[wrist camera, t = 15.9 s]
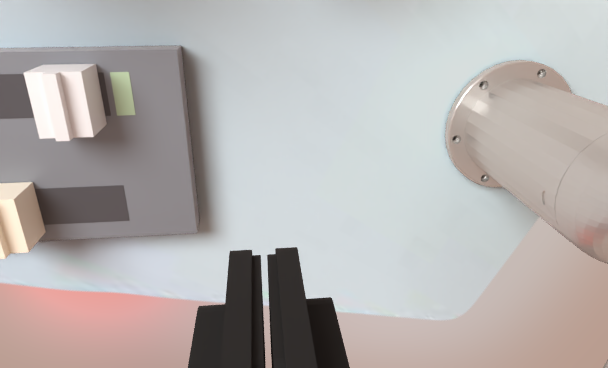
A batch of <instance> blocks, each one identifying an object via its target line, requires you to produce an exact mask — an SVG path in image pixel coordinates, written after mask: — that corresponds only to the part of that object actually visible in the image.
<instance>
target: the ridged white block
mask: <svg viewBox="0 0 608 368" xmlns="http://www.w3.org/2000/svg"><path fill="white" fill-rule="evenodd" d="M24 77H25V81H26V85H27V89H28V93H29V98H30V102H31V106H32V110H33V114H34V118H35V122H36V126H37V130H38V134H39V138H40V139H46V138H55V139H56V141H70V140H71V139H73V138H78V137H94V136H95V135H96V134H97V133H98V132H99V131H100V130H101V129H102V128H103V127H104V126H105V125H106V124H107V123H106V117H105V112H104V106H103V100H102V95H101V89H100V84H99V78H98V73H97V67H96V64H52V65H41V66H39V67H36V68H34V69H31V70H29V71H26V72H24Z"/></svg>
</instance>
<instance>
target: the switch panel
mask: <svg viewBox="0 0 608 368" xmlns="http://www.w3.org/2000/svg"><path fill="white" fill-rule="evenodd" d="M52 64H96V67H97V73H98V78H99V84H100V89H101V95H102V100H103V106H104V112H105V117H106V123H107V124H106V125H105V126H104V127H103V128H102V129H101V130H100V131H99V132H98V133H97V134H96V135H95V136H94V137H78V138H73V139H71V140H70V141H56V139H55V138H46V139H40V138H39V134H38V130H37V126H36V122H35V118H34V114H33V110H32V106H31V102H30V98H29V93H28V89H27V85H26V81H25V77H24V72H26V71H29V70H31V69H34V68H36V67H39V66H41V65H52ZM20 182H33V185H34V189H35V193H36V197H37V200H38V204H39V208H40V212H41V216H42V219H43V223H44V227H45V231H46V232H45V233H44V235H43V236H42V237H41V238H40V239H39V241H54V240H73V239H92V238H112V237H131V236H150V235H170V234H189V233H197V231H198V226H199V221H200V219H199V210H198V200H197V191H196V181H195V172H194V162H193V153H192V143H191V134H190V124H189V115H188V105H187V96H186V86H185V77H184V67H183V58H182V49H181V46H112V47H40V48H0V183H20Z"/></svg>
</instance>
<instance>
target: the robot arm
mask: <svg viewBox="0 0 608 368" xmlns="http://www.w3.org/2000/svg"><path fill="white" fill-rule="evenodd" d="M481 82H482V84H481V85H480V83H481ZM479 85H480V86H479ZM454 136H455V138H454V139H453V137H454ZM445 141H446V148H447V151H448V154H449V157H450V159H451V161H452V162H453V164H454V166H455V167H456V168H457V169H458V170H459V171H460V172H461V173H462V174H463V175H464V176H466V177H467V178H468V179H470V180H471V181H473V182H475V183H477V184H480V185H484V186H488V187H504V188H505V189H506V190H508V191H509V192H510V193H511V194H513V195H514V196H515V197H516V198H517V199H519V200H520V201H521V202H522V203H524V204H525V205H526V206H527V207H528V208H530V209H531V210H532V211H533V212H535V213H536V214H537V215H538V216H539V217H541V218H542V219H543V220H544V221H546V222H547V223H548V224H549V225H550V226H552V227H553V228H554V229H555V230H557V231H558V232H559V233H560V234H562V235H563V236H564V237H565V238H566V239H568V240H569V241H570V242H572V243H573V244H574V245H575V246H577V247H578V248H579V249H580V250H582V251H583V252H585V253H586V254H588V255H589V256H591V257H593V258H595V259H597V260H599V261H602V262H604V263H607V264H608V106H606V105H603V104H600V103H597V102H594V101H591V100H589V99H586V98H583V97H580V96H577V95H574V94H572V93H571V90H570V88H569V86H568V84H567V83H566V81H565V80H564V79H563V77H562V76H561V75H560V74H559V73H557V72H556V71H555V70H554V69H552V68H550V67H548V66H546V65H544V64H541V63H537V62H533V61H526V60H515V61H507V62H504V63H500V64H497V65H495V66H493V67H491V68H489V69H487V70H485V71H483V72H482V73H480V74H479V75H477V76H476V77H475V78H473V79H472V80H471V81H470V82H469V83H468V84H467V85H466V86H465V87H464V88H463V90H462V91H461V92H460V94H459V95H458V97H457V98H456V99H455V101H454V103H453V105H452V108H451V110H450V112H449V115H448V119H447V122H446V130H445ZM267 257H268V283H269V309H270V334H271V354H272V355H271V357H272V368H350V367H349V363H348V359H347V356H346V351H345V347H344V343H343V339H342V335H341V332H340V328H339V324H338V320H337V316H336V312H335V308H334V304H333V300H332V298H331V297H330V298H315V299H306V297H305V291H304V285H303V279H302V273H301V267H300V261H299V256H298V250H297V247H295V248H277V249H276V254H272V255H267ZM264 344H265V342H264V321H263V298H262V277H261V256H260V255H255V256H252V250H241V251H230V255H229V267H228V279H227V291H226V303H225V304H224V305H209V306H199V308H198V311H197V317H196V323H195V328H194V334H193V341H192V347H191V352H190V358H189V364H188V368H265V345H264ZM603 368H608V360H607V362H606V364H605V365H604V367H603Z"/></svg>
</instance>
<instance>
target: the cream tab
mask: <svg viewBox="0 0 608 368" xmlns="http://www.w3.org/2000/svg"><path fill="white" fill-rule="evenodd" d="M45 232H46V231H45V227H44V223H43V219H42V216H41V212H40V208H39V204H38V200H37V197H36V193H35V189H34V185H33V182H20V183H0V259H6V258H7V256H8V255H9V254H10V253H27V252H30V250H31V249H32V248H33V247H34V246H35V244H36V243H37V242H38V241H39V239H40V238H41V237H42V236H43V235H44V233H45Z"/></svg>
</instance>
